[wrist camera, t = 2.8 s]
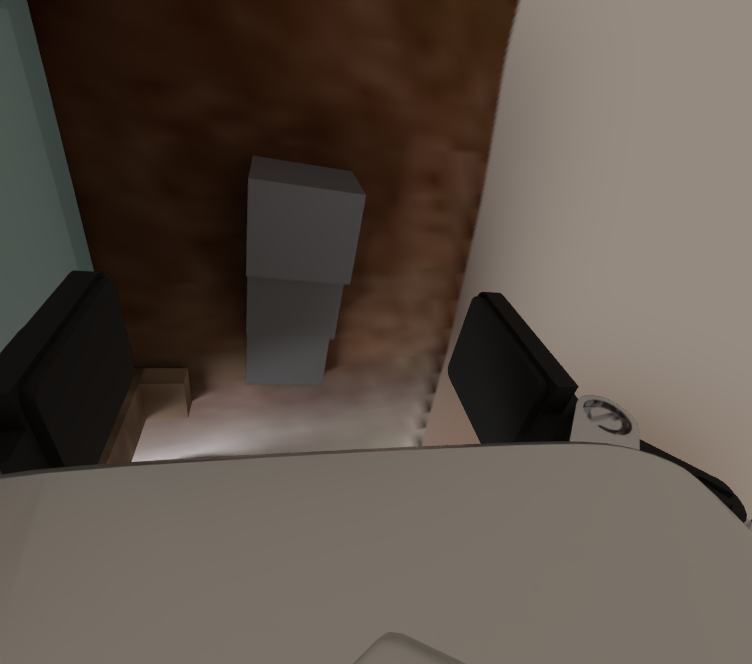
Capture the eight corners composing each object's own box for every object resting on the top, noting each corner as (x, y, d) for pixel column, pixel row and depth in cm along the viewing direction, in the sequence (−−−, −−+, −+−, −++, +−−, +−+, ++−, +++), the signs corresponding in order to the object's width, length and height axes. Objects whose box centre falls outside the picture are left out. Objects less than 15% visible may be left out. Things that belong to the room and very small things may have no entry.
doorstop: (351, 169, 21) (366, 195, 18) (320, 371, 29) (326, 417, 25) (253, 154, 20) (248, 178, 17) (247, 369, 28) (243, 418, 24)
